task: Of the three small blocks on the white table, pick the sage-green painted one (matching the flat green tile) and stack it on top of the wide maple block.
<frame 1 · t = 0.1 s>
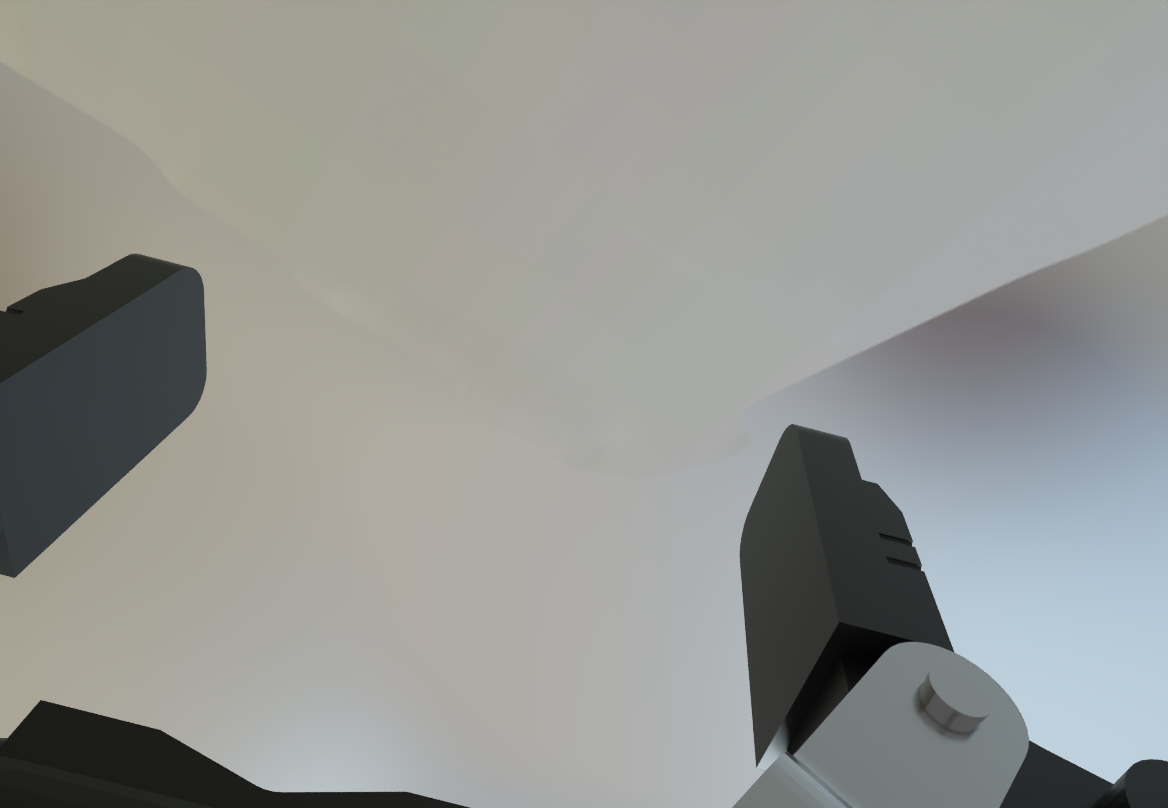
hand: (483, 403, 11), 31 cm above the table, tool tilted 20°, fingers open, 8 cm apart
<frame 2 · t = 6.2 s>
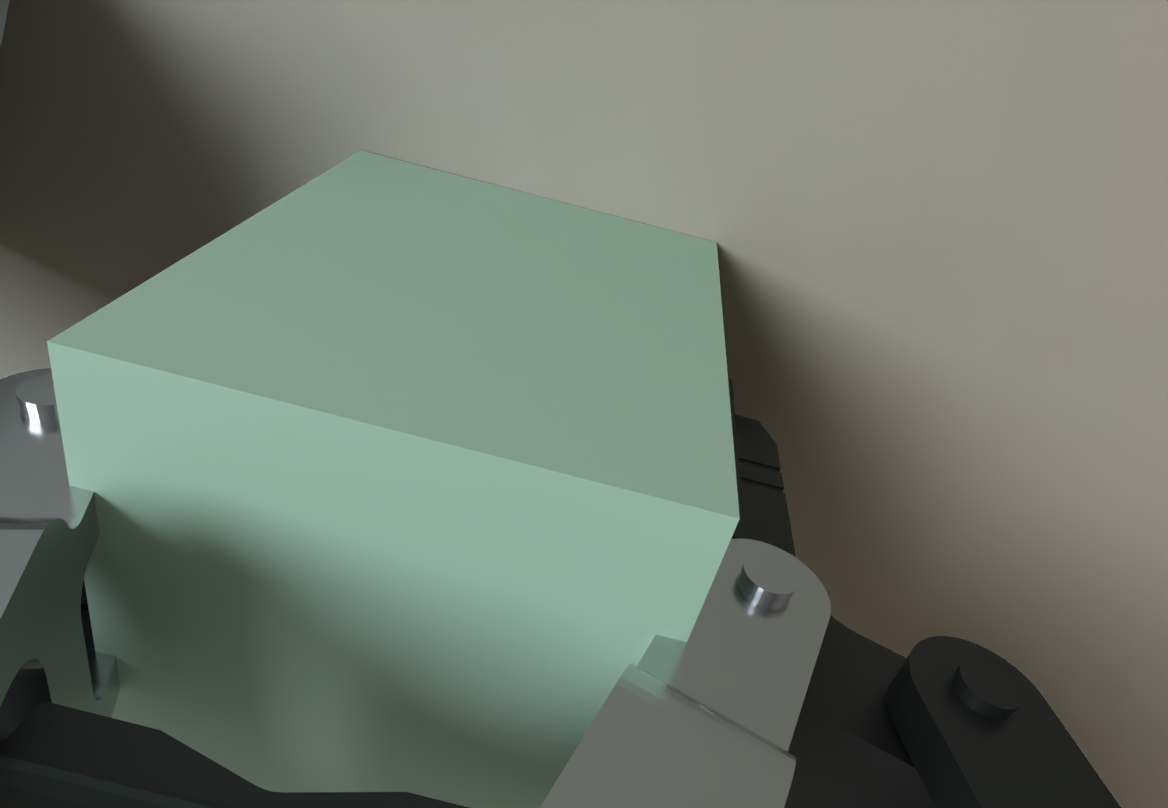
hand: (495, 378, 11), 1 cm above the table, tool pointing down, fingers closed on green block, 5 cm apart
green block: (508, 354, 12), on the table, touching gripper
when the fingers open (6 cm above the table, at t = 11.6 s): green block drops 1 cm, resting on maple base.
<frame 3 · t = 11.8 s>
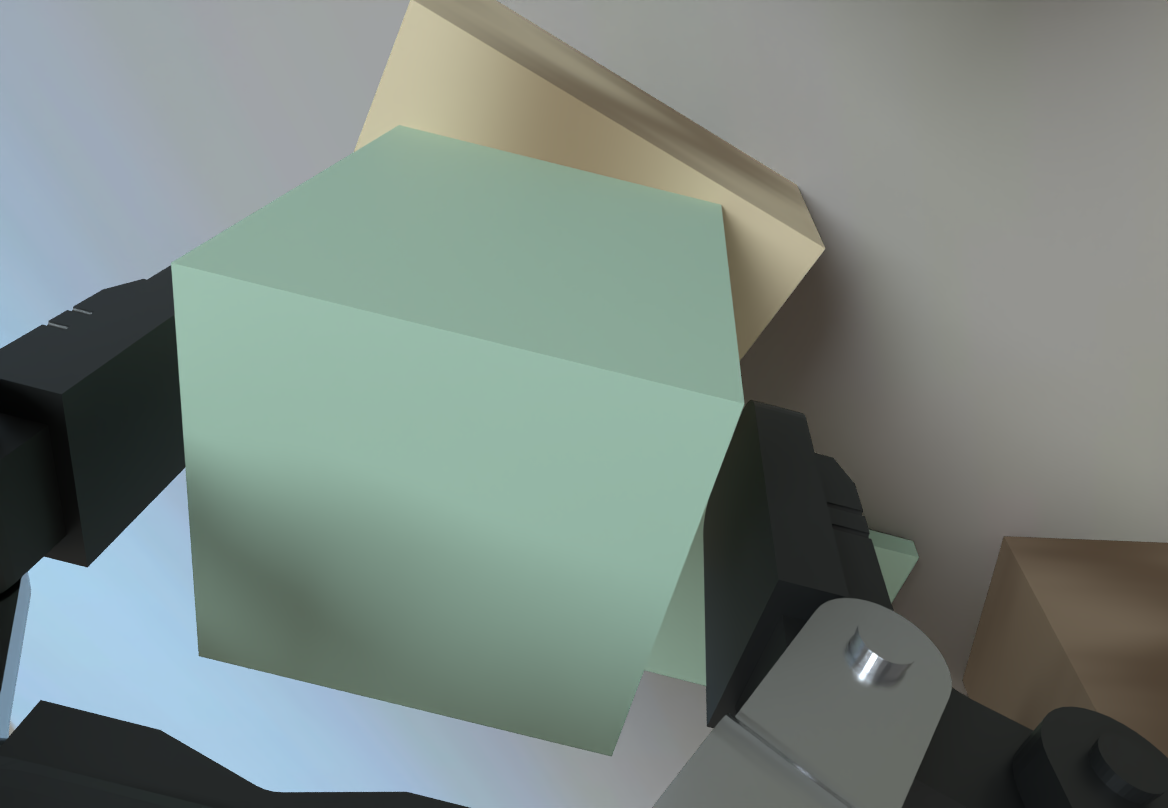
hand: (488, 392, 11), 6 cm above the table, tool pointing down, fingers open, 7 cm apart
maple base: (557, 240, 17), on the table, touching green block
green block: (531, 312, 13), point 4 cm above the table, touching maple base
walnut block: (1086, 617, 20), on the table
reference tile: (752, 597, 20), on the table
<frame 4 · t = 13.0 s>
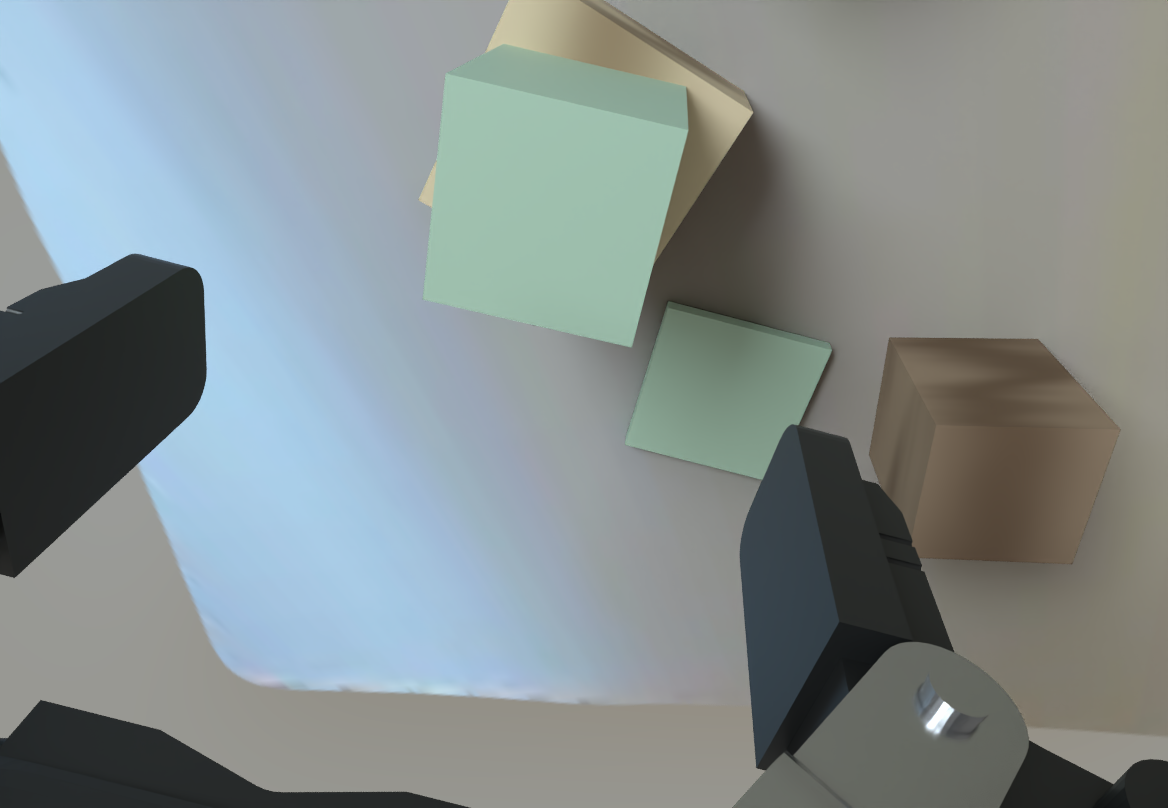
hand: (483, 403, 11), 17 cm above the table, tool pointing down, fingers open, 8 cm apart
maple base: (591, 130, 26), on the table, touching green block
green block: (577, 158, 22), point 4 cm above the table, touching maple base
walnut block: (948, 399, 29), on the table
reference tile: (722, 392, 29), on the table
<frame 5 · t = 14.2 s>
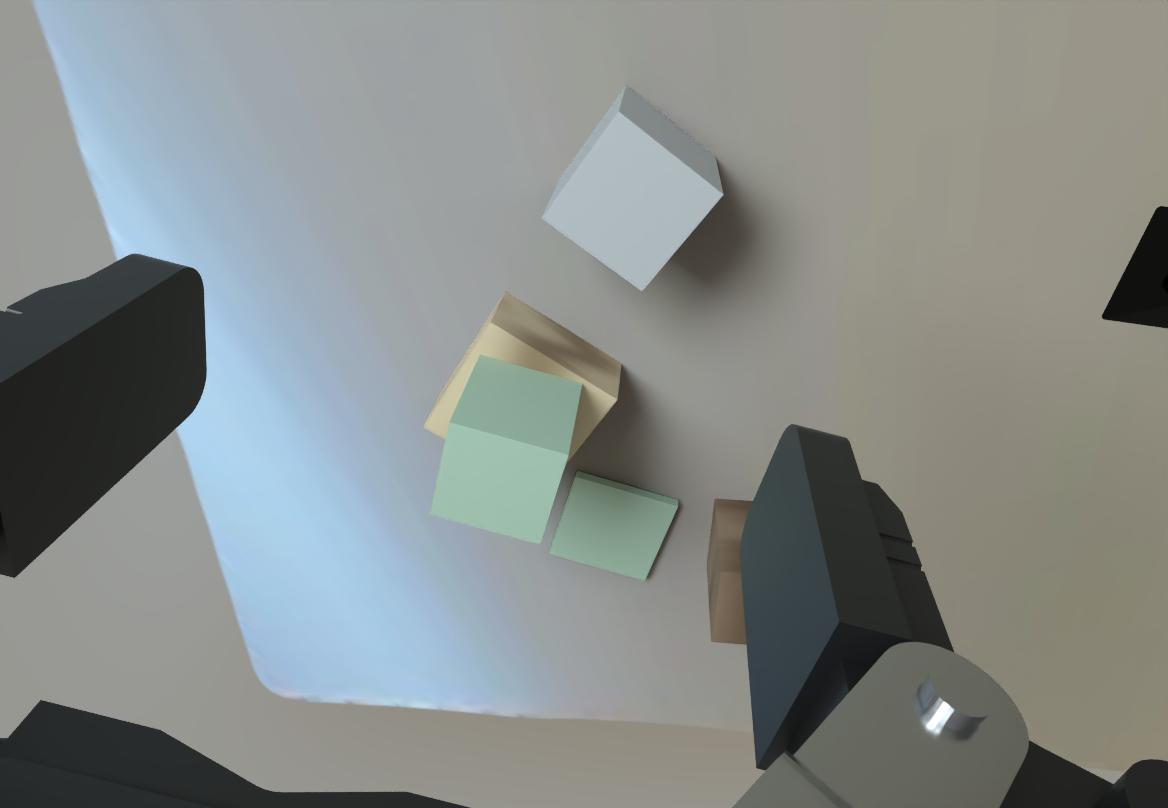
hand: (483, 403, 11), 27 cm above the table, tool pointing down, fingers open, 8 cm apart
maple base: (530, 374, 41), on the table
green block: (519, 412, 38), point 4 cm above the table
walnut block: (754, 535, 45), on the table
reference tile: (612, 524, 46), on the table
grey block: (636, 167, 35), on the table
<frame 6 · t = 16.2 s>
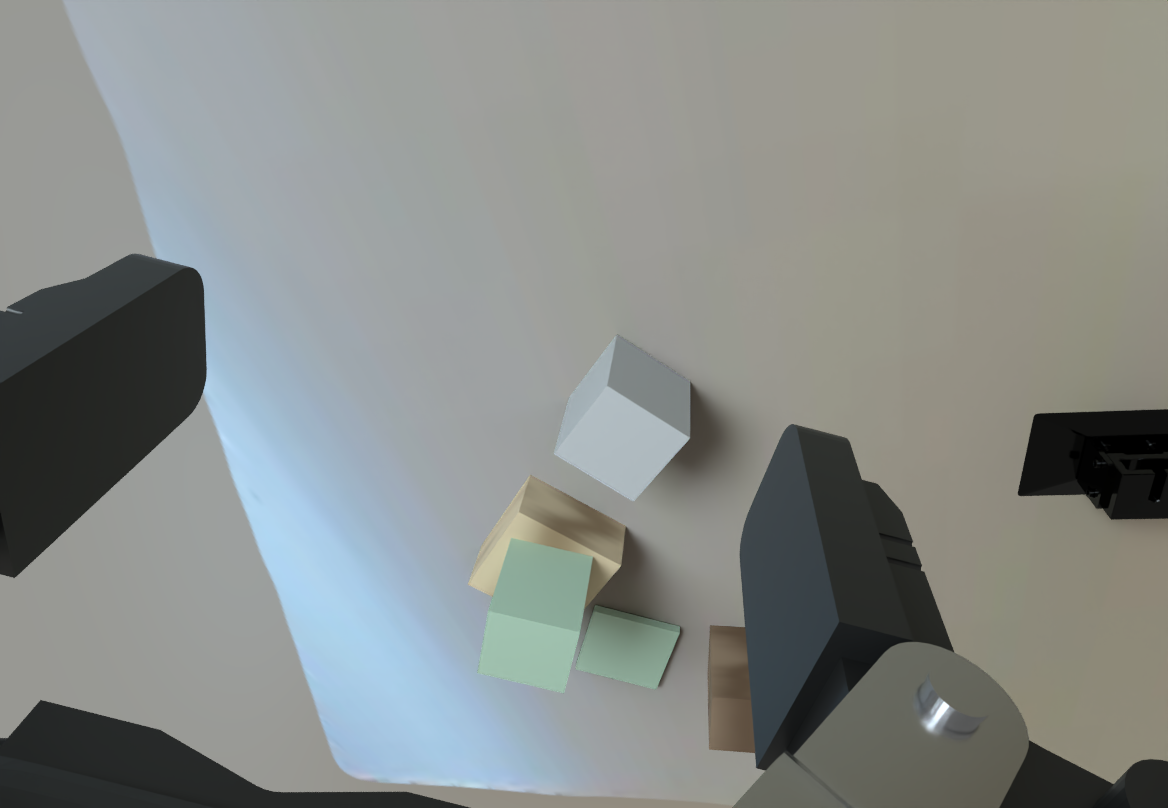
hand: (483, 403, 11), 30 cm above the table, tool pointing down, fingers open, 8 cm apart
maple base: (552, 533, 51), on the table, touching green block
green block: (545, 577, 48), point 4 cm above the table, touching maple base
black piece: (1112, 446, 44), on the table
walnut block: (745, 652, 54), on the table
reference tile: (626, 645, 55), on the table
grey block: (628, 389, 45), on the table
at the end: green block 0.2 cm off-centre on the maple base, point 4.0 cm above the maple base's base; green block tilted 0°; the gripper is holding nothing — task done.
